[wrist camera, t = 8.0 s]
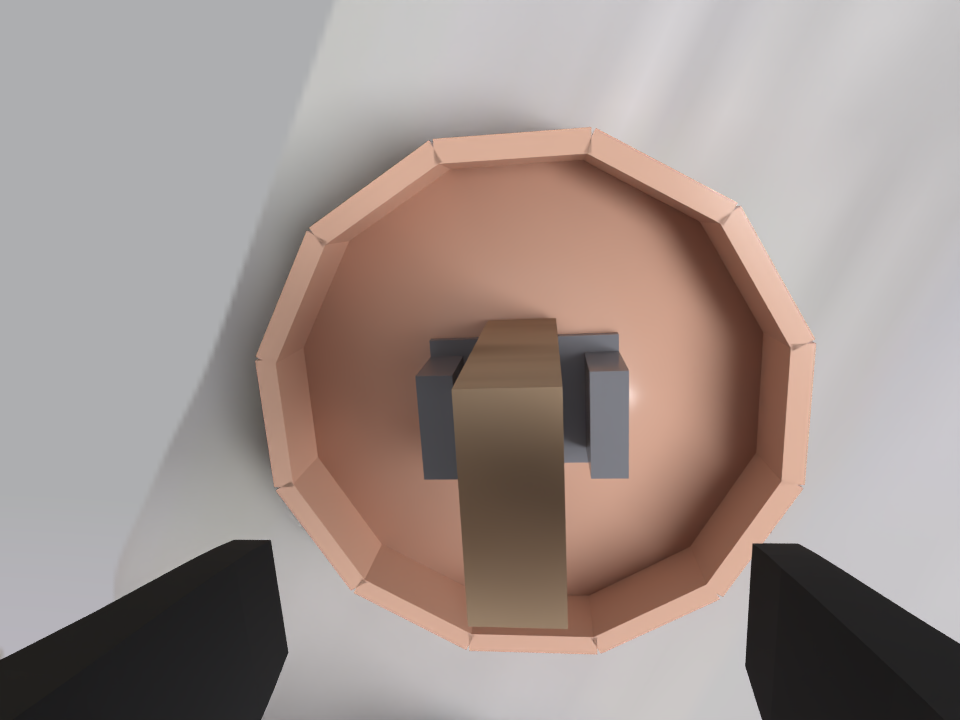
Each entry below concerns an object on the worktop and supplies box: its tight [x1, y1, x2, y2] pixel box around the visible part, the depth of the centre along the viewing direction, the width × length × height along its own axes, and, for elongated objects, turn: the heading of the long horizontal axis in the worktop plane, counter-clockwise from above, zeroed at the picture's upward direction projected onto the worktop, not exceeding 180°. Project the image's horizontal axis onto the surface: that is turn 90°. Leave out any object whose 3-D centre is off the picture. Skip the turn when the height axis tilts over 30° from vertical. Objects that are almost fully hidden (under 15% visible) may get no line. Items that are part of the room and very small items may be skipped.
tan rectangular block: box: [452, 318, 568, 629], centre depth 15 cm, size 5×2×7 cm, turn 3°
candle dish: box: [255, 127, 816, 654], centre depth 17 cm, size 15×15×3 cm
